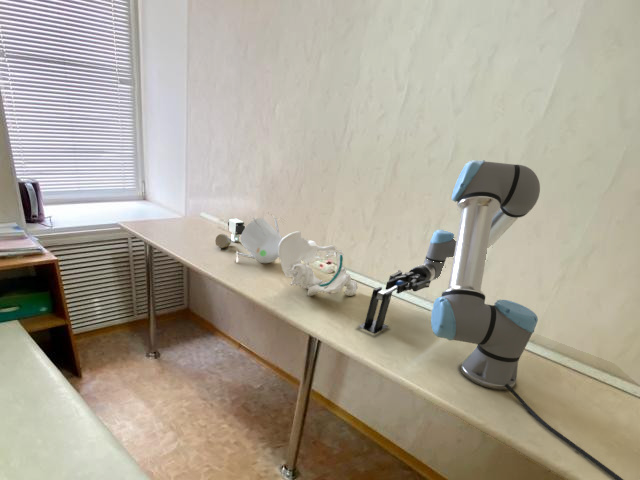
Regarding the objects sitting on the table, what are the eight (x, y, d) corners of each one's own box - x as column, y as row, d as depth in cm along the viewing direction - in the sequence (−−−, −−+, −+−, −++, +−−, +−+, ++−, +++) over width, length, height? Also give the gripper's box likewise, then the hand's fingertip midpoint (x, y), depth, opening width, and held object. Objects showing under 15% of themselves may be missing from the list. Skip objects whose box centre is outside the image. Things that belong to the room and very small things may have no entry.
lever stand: (371, 321, 154) (381, 284, 146) (388, 328, 150) (399, 290, 143) (356, 329, 148) (366, 290, 140) (374, 336, 144) (385, 297, 136)
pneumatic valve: (236, 244, 223) (237, 221, 217) (226, 238, 231) (227, 215, 225) (245, 243, 226) (247, 221, 219) (235, 237, 234) (236, 215, 227)
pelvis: (384, 263, 168) (350, 286, 149) (352, 301, 185) (318, 326, 166) (322, 207, 174) (282, 223, 155) (297, 250, 191) (258, 268, 172)
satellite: (270, 236, 179) (305, 233, 196) (243, 208, 185) (279, 208, 202) (249, 277, 194) (283, 271, 211) (224, 250, 200) (259, 246, 217)
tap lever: (396, 287, 153) (398, 277, 151) (405, 290, 151) (408, 281, 149) (373, 299, 143) (376, 289, 141) (383, 303, 141) (385, 293, 139)
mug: (234, 245, 222) (235, 231, 213) (224, 256, 217) (224, 243, 209) (222, 239, 223) (223, 225, 214) (212, 250, 219) (212, 236, 210)
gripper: (438, 291, 159) (411, 305, 144) (399, 277, 168) (369, 290, 153) (445, 272, 155) (418, 285, 140) (404, 259, 164) (374, 270, 149)
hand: (392, 287), depth 146 cm, fingers closed on tap lever, 4 cm apart
